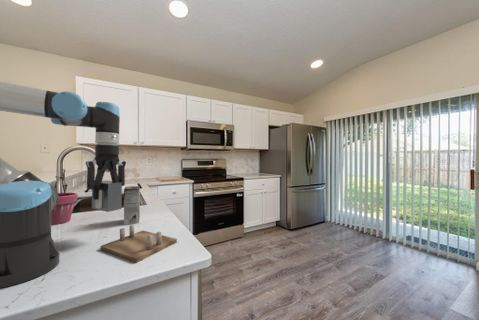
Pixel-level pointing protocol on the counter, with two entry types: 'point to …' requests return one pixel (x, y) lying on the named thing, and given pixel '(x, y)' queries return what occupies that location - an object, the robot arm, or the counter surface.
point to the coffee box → (131, 204)
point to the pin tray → (138, 244)
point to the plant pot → (63, 208)
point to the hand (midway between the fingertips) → (106, 206)
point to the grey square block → (110, 196)
